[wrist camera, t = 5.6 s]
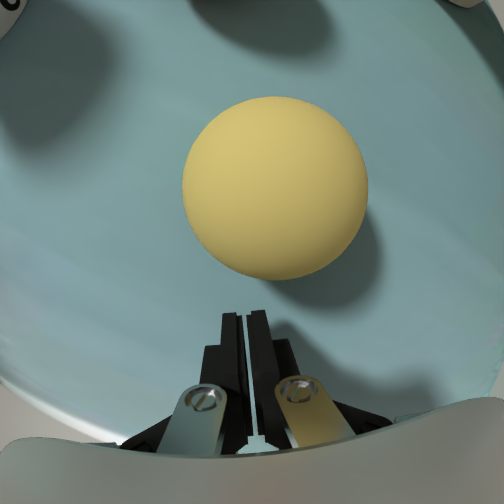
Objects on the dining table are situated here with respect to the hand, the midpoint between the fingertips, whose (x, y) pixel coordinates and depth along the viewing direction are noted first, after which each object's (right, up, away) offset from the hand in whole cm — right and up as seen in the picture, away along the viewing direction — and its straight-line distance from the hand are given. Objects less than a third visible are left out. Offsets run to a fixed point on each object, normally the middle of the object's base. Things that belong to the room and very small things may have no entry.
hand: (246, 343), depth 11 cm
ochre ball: (+1, +6, -3) cm, 6 cm away
